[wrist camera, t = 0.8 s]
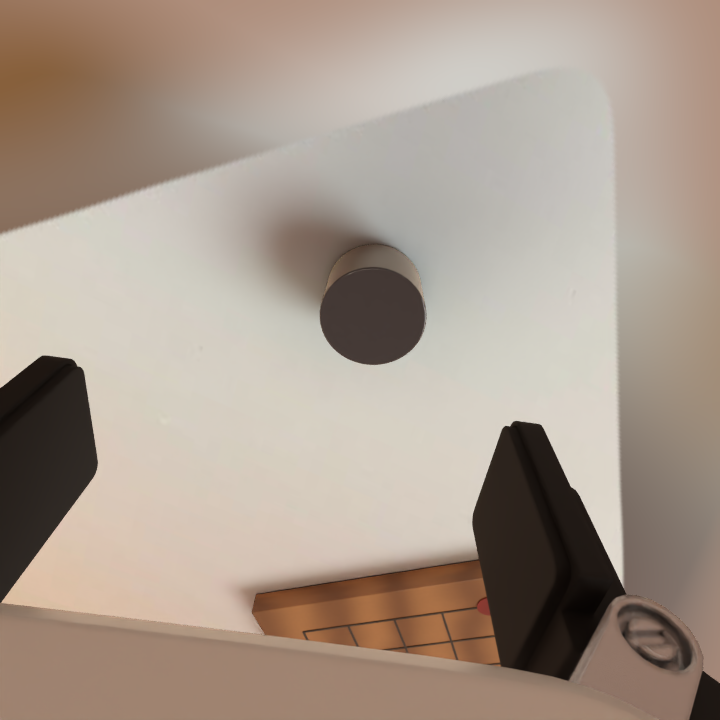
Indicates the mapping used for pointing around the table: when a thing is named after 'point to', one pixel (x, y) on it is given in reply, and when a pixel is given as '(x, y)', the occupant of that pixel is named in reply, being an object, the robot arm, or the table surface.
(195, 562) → the table surface
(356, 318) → the dark brown puck
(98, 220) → the table surface
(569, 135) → the table surface
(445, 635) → the board
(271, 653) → the robot arm
